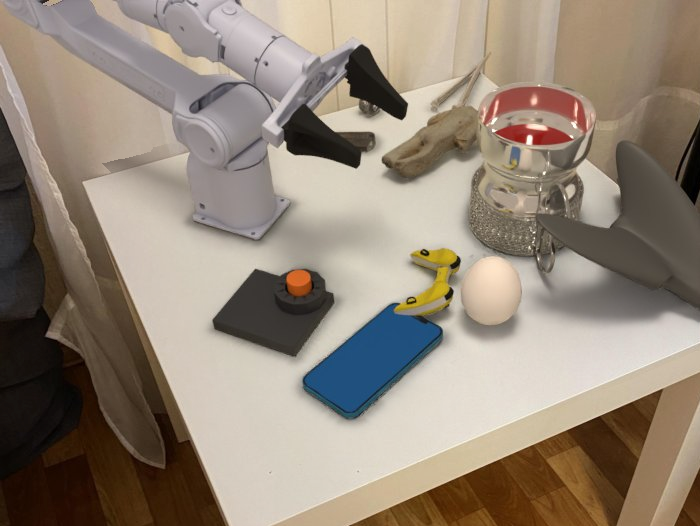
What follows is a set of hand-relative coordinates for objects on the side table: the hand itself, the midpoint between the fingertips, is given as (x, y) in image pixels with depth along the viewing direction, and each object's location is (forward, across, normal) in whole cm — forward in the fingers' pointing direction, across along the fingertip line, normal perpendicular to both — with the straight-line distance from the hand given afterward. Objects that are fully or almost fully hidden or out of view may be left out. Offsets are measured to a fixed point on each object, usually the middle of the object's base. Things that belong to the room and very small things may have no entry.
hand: (382, 136), depth 83 cm
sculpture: (-2, +18, +24) cm, 30 cm away
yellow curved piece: (+11, -3, +16) cm, 19 cm away
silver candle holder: (+16, +13, +17) cm, 26 cm away
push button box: (-1, -16, +16) cm, 23 cm away
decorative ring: (-15, +22, +28) cm, 38 cm away
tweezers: (-8, +36, +27) cm, 45 cm away
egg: (+18, -3, +13) cm, 22 cm away
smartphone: (+11, -15, +13) cm, 23 cm away
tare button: (0, -12, +14) cm, 19 cm away
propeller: (+29, +12, +11) cm, 33 cm away
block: (-12, +14, +26) cm, 32 cm away
